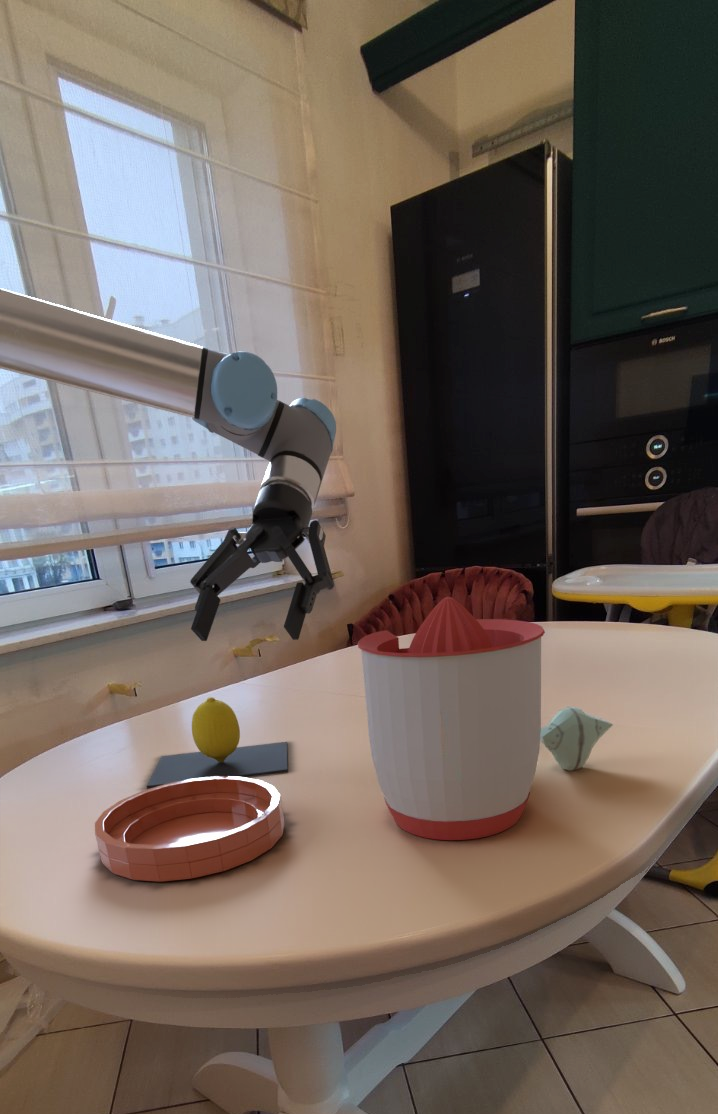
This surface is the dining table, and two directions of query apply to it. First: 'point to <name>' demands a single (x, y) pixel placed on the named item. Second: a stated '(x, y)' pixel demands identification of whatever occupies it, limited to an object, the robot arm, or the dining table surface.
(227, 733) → the lemon
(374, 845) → the dining table surface
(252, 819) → the bowl
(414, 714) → the citrus juicer
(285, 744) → the mat
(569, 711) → the pale green angular piece
